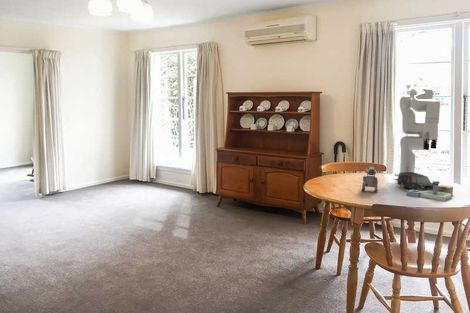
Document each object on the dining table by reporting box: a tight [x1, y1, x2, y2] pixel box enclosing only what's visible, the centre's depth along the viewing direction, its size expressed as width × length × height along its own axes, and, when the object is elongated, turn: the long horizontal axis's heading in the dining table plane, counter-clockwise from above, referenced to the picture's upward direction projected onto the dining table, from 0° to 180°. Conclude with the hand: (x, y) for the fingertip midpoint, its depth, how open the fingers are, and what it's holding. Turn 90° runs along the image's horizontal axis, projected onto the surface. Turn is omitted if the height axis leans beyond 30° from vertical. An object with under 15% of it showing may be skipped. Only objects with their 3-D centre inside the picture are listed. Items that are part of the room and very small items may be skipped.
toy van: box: [397, 172, 433, 191], centre depth 267 cm, size 11×25×10 cm, turn 13°
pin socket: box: [406, 189, 423, 198], centre depth 252 cm, size 7×7×2 cm
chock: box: [438, 184, 454, 195], centre depth 255 cm, size 7×4×5 cm, turn 36°
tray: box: [418, 190, 453, 202], centre depth 247 cm, size 14×11×2 cm
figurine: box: [361, 165, 379, 193], centre depth 263 cm, size 9×12×15 cm
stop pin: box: [432, 180, 440, 195], centre depth 246 cm, size 4×4×9 cm
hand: (429, 149), depth 254 cm, fingers open, 9 cm apart
